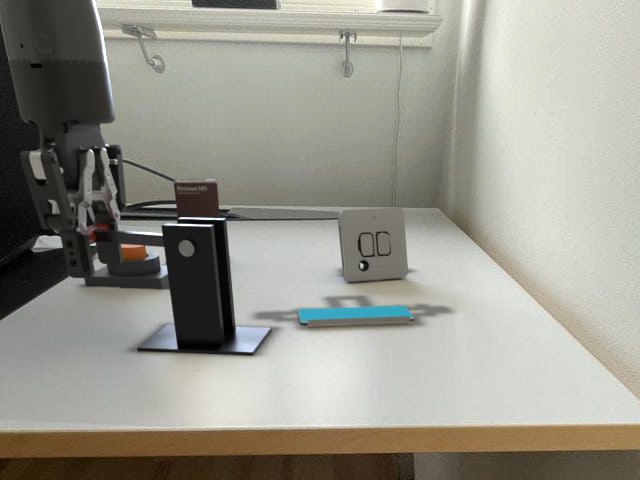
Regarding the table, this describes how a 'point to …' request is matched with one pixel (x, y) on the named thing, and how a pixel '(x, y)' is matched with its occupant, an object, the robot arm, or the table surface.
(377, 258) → the electrical switch
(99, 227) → the lever
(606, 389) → the table surface
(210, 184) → the box
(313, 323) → the blue book
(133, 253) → the button
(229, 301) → the bracket
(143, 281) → the button box
